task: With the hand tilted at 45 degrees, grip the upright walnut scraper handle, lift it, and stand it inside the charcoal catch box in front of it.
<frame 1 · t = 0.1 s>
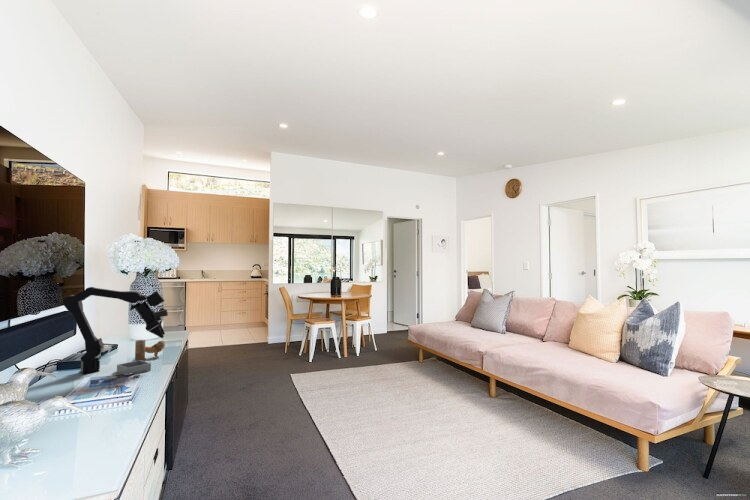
hand: (163, 335, 191), 15 cm above the sideboard, tool tilted 35°, fingers open, 9 cm apart
walnut handle: (139, 364, 190), on the sideboard
catch box: (133, 371, 178), on the sideboard
lion figurine: (150, 358, 203), on the sideboard
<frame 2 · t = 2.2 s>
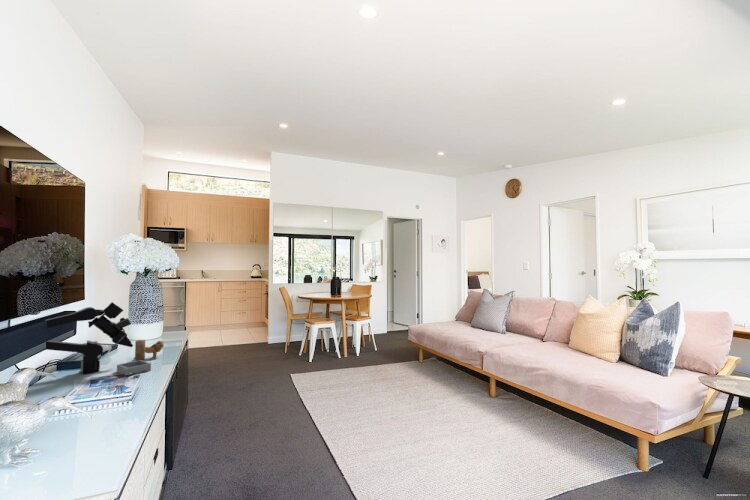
hand: (131, 344, 188), 11 cm above the sideboard, tool tilted 45°, fingers open, 9 cm apart
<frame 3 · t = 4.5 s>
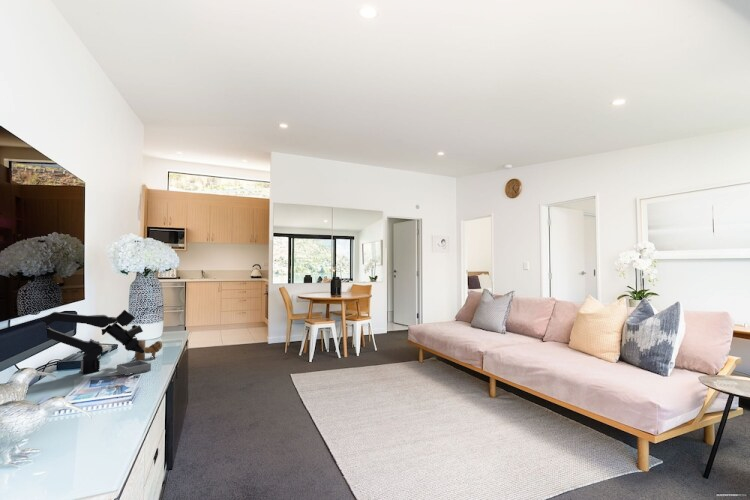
hand: (143, 351, 191), 7 cm above the sideboard, tool tilted 45°, fingers closed on walnut handle, 4 cm apart
walnut handle: (139, 364, 190), on the sideboard, touching gripper
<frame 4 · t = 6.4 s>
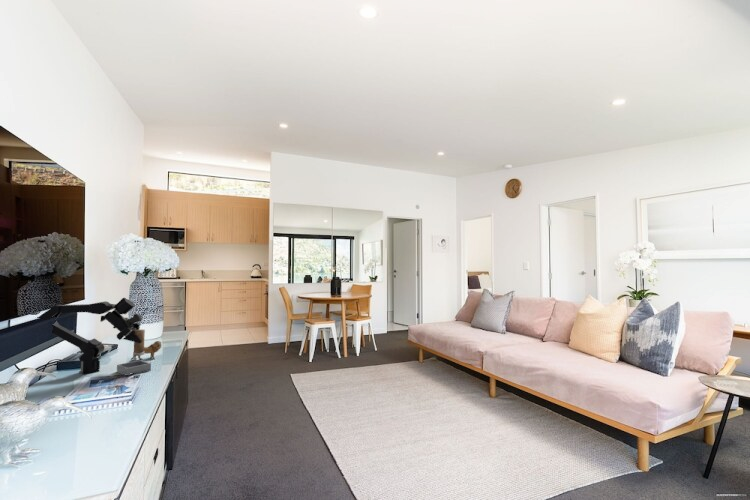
hand: (142, 341, 184), 13 cm above the sideboard, tool tilted 45°, fingers closed on walnut handle, 4 cm apart
walnut handle: (138, 354, 183), point 7 cm above the sideboard, touching gripper
when the fingers open (9 cm above the sideboard, at t = 8.3 s): walnut handle drops 1 cm, resting on catch box.
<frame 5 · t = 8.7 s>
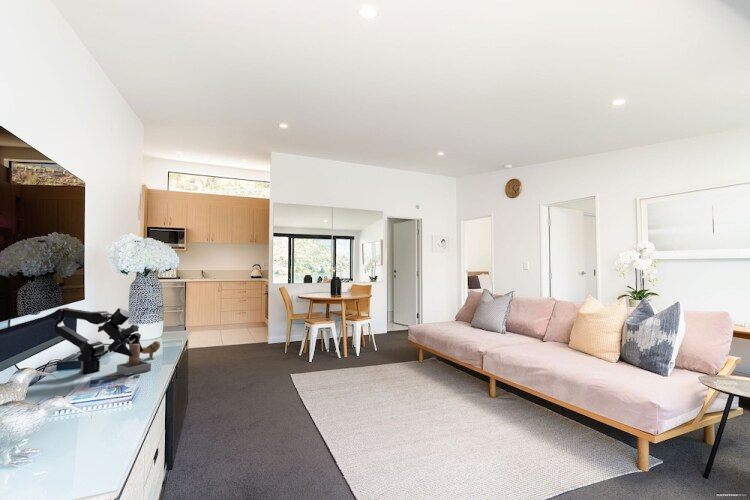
hand: (137, 353, 178), 9 cm above the sideboard, tool tilted 45°, fingers open, 9 cm apart
walnut handle: (133, 369, 178), point 1 cm above the sideboard, touching catch box
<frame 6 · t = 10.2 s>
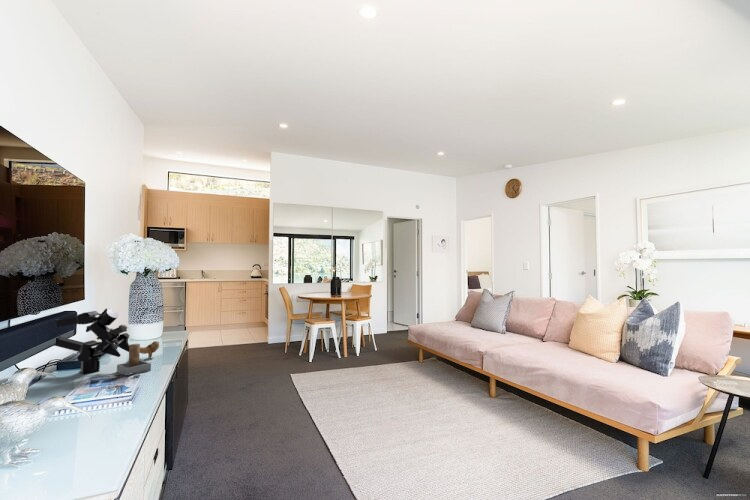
hand: (125, 353, 178), 9 cm above the sideboard, tool tilted 45°, fingers open, 9 cm apart
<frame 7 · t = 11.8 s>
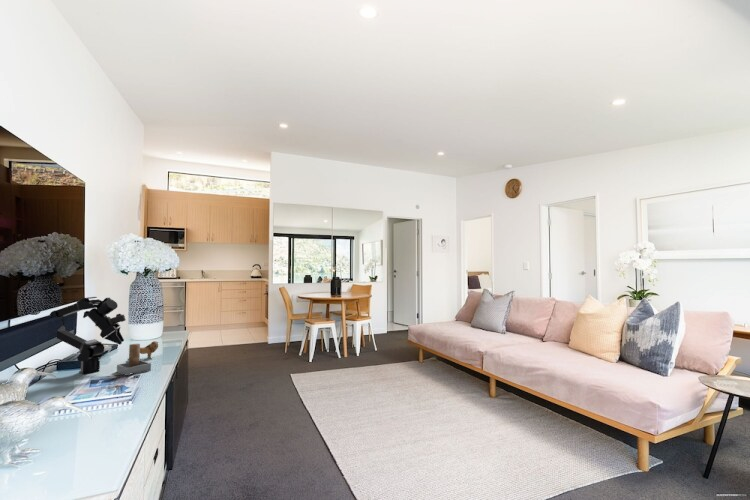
hand: (122, 342, 181), 13 cm above the sideboard, tool tilted 35°, fingers open, 9 cm apart
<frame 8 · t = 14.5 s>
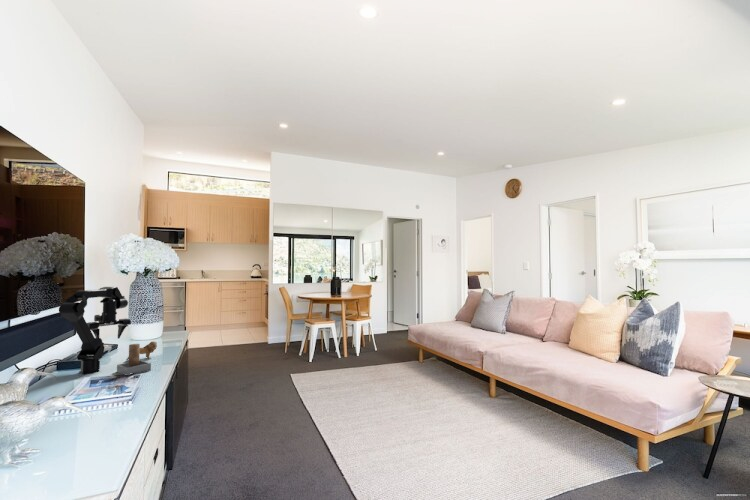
hand: (108, 340, 189), 13 cm above the sideboard, tool pointing down, fingers open, 9 cm apart
at the end: walnut handle 0.0 cm off-centre on the catch box, point 0.6 cm above the catch box's base; walnut handle tilted 0°; the gripper is holding nothing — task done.
